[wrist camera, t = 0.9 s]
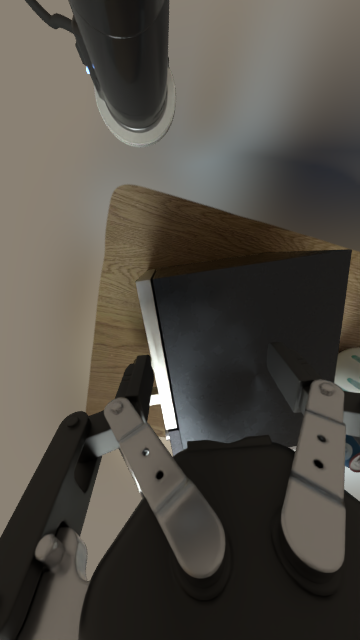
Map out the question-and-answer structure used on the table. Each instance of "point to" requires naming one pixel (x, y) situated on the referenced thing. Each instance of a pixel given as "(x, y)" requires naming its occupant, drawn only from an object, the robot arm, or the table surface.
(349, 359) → the vase
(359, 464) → the soda can
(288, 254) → the microwave
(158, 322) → the microwave door
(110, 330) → the table surface
